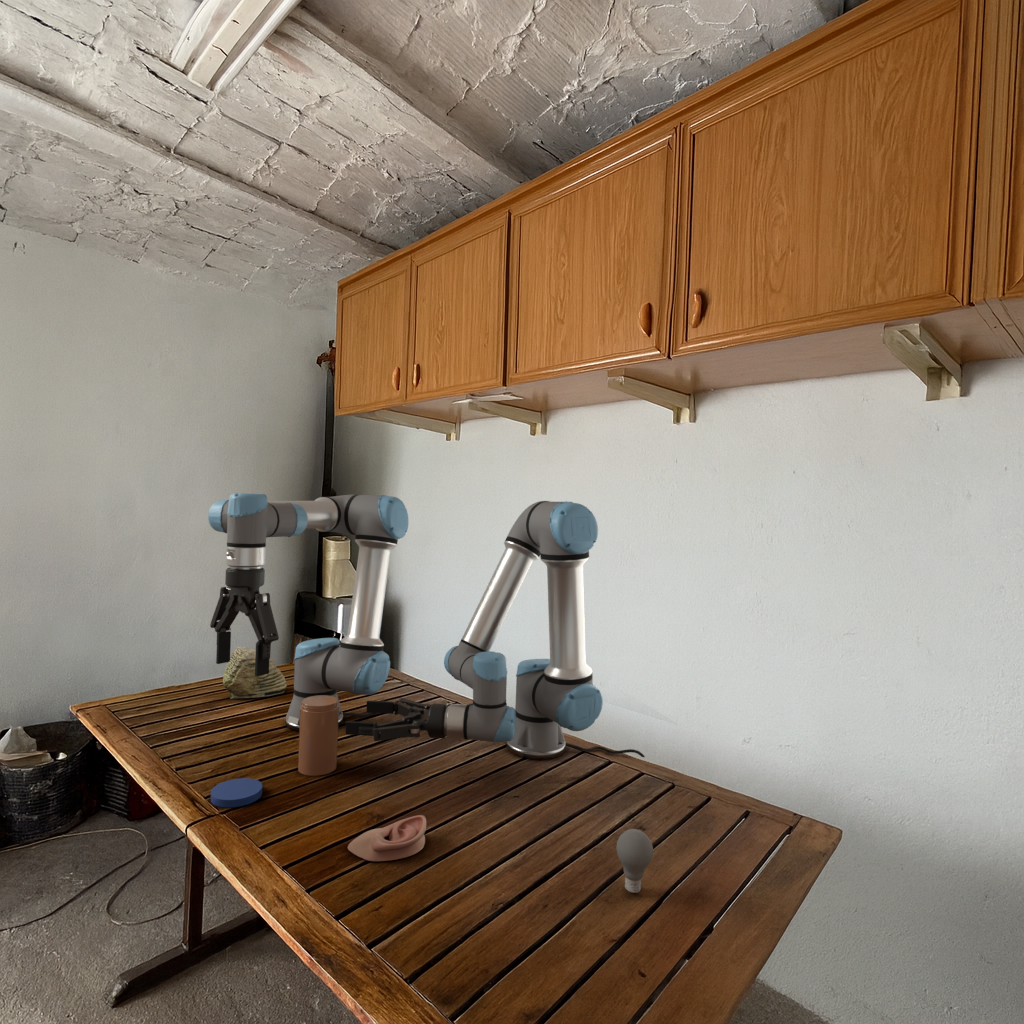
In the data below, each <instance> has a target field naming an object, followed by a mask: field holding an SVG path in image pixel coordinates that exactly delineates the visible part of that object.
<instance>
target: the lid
mask: <svg viewBox="0 0 1024 1024" xmlns="http://www.w3.org/2000/svg"><path fill="white" fill-rule="evenodd" d="M262 796H263V783H262V782H261V781H260V780H258V779H255V778H248V777H241V778H233V779H228V780H225V781H222V782H220V783H217V784H216V785H215V786H213V787H212V789H211V790H210V803H211V804H212V805H214V806H216V807H218V808H227V809H229V808H238V807H243V806H247V805H250V804H253V803H254V802H256V801H258V800H259V799H260V798H261V797H262Z"/></svg>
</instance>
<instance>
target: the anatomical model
mask: <svg viewBox="0 0 1024 1024" xmlns="http://www.w3.org/2000/svg"><path fill="white" fill-rule="evenodd" d="M426 830H427V818H426V816H425V815H422V814H419V815H418V814H417V815H413V816H409V817H406V818H403V819H400V820H398V821H396V822H394V823H391V824H389V825H386V826H384V827H379V828H374V829H370V830H367V831H365V832H363V833H362V834H360V835H358V836H357V837H355V838H354V839H352V840H351V841H350V842H349V843H348V845H347V850H348V851H349V852H351V854H353V855H355V856H356V857H358V858H360V859H363V860H365V861H368V862H388V861H394V860H396V861H397V860H399V859H400V860H401V859H405V858H408V857H411V856H413V855H415V854H417V853H419V852H421V850H423V848H424V847H425V844H426V836H425V833H426Z"/></svg>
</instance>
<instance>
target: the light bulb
mask: <svg viewBox="0 0 1024 1024" xmlns="http://www.w3.org/2000/svg"><path fill="white" fill-rule="evenodd" d="M615 849H616V854H617V857H618V859H619V861H620V863H621V865H622V867H623V873H624V874H623V875H624V876H625V878H624V888H625V890H627V891H628V892H630V893H634V894H635V893H639V892H640V891H641V889H642V887H641V886H642V879H643V877H644V875H645V871H646V868H647V867H648V866H649V864H650V863H651V861H652V859H653V855H654V847H653V843H652V841H651V838H649V836H648V835H647V834H646V833H645V832H643V831H642V830H641V829H636V828H629V829H627V830H625V831H623V832H622V833H621V834H620V835H619V837H618V839H617V841H616V847H615Z"/></svg>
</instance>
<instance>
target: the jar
mask: <svg viewBox="0 0 1024 1024" xmlns="http://www.w3.org/2000/svg"><path fill="white" fill-rule="evenodd" d="M338 699H339V698H338ZM338 699H337V698H336V697H333V696H328V695H317V696H311V697H307V698H305V699H303V700H302V704H301V707H300V726H299V731H298V751H297V752H298V756H297V771H298V773H300V774H301V775H304V776H312V777H317V776H318V777H319V776H324V775H328V774H330V773H332V772H334V771H335V770H336V769H337V768H338V767H337V766H338V745H339V726H338V721H339V704H338Z"/></svg>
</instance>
